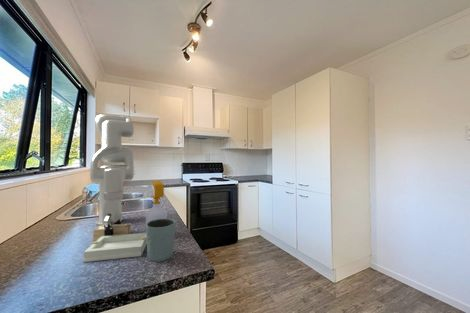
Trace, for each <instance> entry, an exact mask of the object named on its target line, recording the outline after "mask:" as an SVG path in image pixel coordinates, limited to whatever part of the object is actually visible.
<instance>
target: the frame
mask: <svg viewBox="0 0 470 313" xmlns="http://www.w3.org/2000/svg"><path fill="white" fill-rule="evenodd" d="M110 226H111V224H110ZM112 229H113V235H124V234H132V223H121V224H115V225H113V228H112ZM92 232H93V234H92V235H93V239H92V241H93V242H95V241H97V240H98V239H99V238H100V237H101V236H104V225H98V226H97V227H96V228H94V229H93V231H92Z"/></svg>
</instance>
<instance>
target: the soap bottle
mask: <svg viewBox="0 0 470 313" xmlns="http://www.w3.org/2000/svg"><path fill="white" fill-rule="evenodd" d="M150 183H151V184H152V185H153V186H154V194H153V195H150V197H151V198H153V200H154V201H153V202H152V207H151V208H150V209H149V210H147V211H146V214H145V224H146V223H147V222H149V221H152V220H155V219H162V218H168V212H167V209H165V208H163V206H162V205H161V201H159V200H161V198H163V197H164V193H165V192H164V190H165V187H164V186H165V185H164V183H163V182H162V181H161V180H153V181H151V182H150Z"/></svg>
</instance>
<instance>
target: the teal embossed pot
mask: <svg viewBox="0 0 470 313" xmlns="http://www.w3.org/2000/svg"><path fill="white" fill-rule="evenodd" d="M176 222H177V221H176V220H175V219H173V218H168V217H167V218H162V219H155V220H152V221H149V222H147V223H146V222H145V233H146V235H147V244H146V249H147V250H146V251H147V252H146V253H147V255H146V256H147V260H148V261H150V262H154V263H155V262H156V263H157V262H163V261H166V260H168V259H170V258H172V256H173V254H174V245H175V241H174V240H175V235H176V234H175V233H176Z"/></svg>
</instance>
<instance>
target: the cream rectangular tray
mask: <svg viewBox="0 0 470 313" xmlns="http://www.w3.org/2000/svg"><path fill="white" fill-rule="evenodd" d="M146 247H147V235H146V232H141V233H140V232H138V233H131V234H124V235H112V236H101V237H100V238H99V239H98V240H97V241H93V242H92V244H91V245H90V246H88V248H87V249H86V250H85V251H83V258H82V262H83V263H87V262H96V261H105V260H106V261H107V260H115V259H117V260H118V259H123V258H126V259H127V258H136V257H142V255H143V253H144V250H145V249H146Z"/></svg>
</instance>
